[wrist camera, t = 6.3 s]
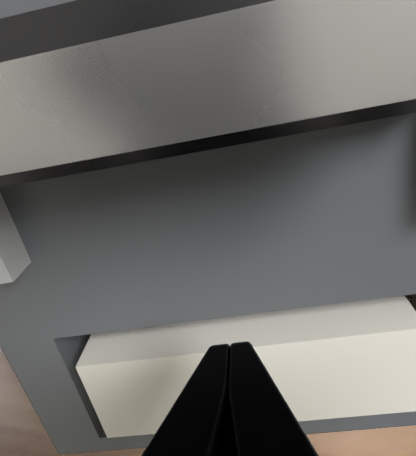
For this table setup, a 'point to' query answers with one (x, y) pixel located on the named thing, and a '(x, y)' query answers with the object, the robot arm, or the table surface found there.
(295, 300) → the panel
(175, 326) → the button white
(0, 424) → the table surface
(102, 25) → the slider paddle
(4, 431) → the table surface
